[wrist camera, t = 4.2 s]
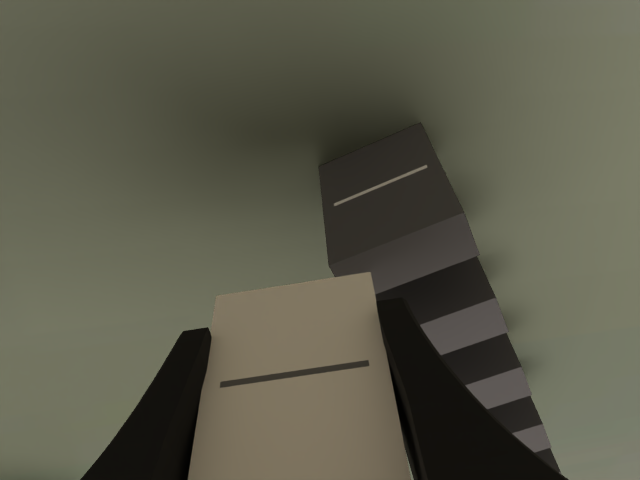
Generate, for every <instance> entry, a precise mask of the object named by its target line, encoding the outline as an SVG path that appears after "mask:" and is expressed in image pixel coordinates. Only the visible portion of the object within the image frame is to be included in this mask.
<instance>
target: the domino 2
mask: <svg viewBox="0 0 640 480" xmlns="http://www.w3.org/2000/svg"><path fill="white" fill-rule="evenodd" d="M319 176H320V185H321V195H322V205H323V215H324V225H325V234H326V244H327V254H328V264H329V267H330V269H331V271H332V272H333V274H334V276H335V277H340V276H347V275H353V274H359V273H366V272H371V276H372V281H373V287H374V292H375V294H378V293H380V292H383V291H386V290H388V289H391V288H394V287H396V286H399V285H402V284H404V283H407V282H410V281H412V280H415V279H418V278H420V277H423V276H425V275H428V274H431V273H433V272H436V271H439V270H441V269H444V268H447V267H449V266H452V265H455V264H457V263H460V262H463V261H465V260H468V259H471V258H473V257H476V256H479V255H480V254H479V251H478V249H477V246H476V243H475V241H474V238H473V235H472V233H471V230H470V227H469V224H468V222H467V219H466V216H465V214H464V211H463V209H462V207H461V205H460V203H459V201H458V199H457V197H456V195H455V193H454V191H453V188H452V186H451V184H450V182H449V180H448V178H447V176H446V174H445V172H444V170H443V168H442V166H441V164H440V162H439V159H438V157H437V155H436V153H435V151H434V149H433V147H432V145H431V143H430V141H429V139H428V137H427V135H426V132H425V130H424V128H423V126H422V124H421V122H420V123H418V124H416V125H413V126H411V127H409V128H406V129H404V130H402V131H400V132H397V133H395V134H393V135H390V136H388V137H386V138H384V139H381V140H379V141H377V142H374V143H372V144H370V145H367V146H365V147H363V148H361V149H358V150H356V151H354V152H351V153H349V154H347V155H344V156H342V157H340V158H338V159H335V160H333V161H331V162H328V163H326V164H324V165H321V166H319Z"/></svg>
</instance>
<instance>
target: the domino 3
mask: <svg viewBox="0 0 640 480" xmlns="http://www.w3.org/2000/svg"><path fill="white" fill-rule="evenodd" d="M375 297H376V301H381V300H388V299H394V298H400V297H402V298H404V299H405V300H407V302H408V304H409V306H410V308H411V310H412V312H413V314H414V316H415V318H416V319H417V321H418V323H419V324H420V326H421V328H422V329H423V331H424V332H425V334H426V335H427V337H428V338H429V340H430V341H431V343H432V344H433V346H434V347H435V348H436V350H437V351H438V352H439V354H440V355H443V354H446V353H449V352H452V351H455V350H458V349H461V348H464V347H466V346H469V345H472V344H475V343H478V342H481V341H484V340H487V339H490V338H492V337H495V336H498V335H501V334H504V333H507V332H509V331H508V329H507V326H506V323H505V321H504V318H503V315H502V313H501V310H500V307H499V304H498V302H497V299H496V297H495V294H494V292H493V290H492V288H491V286H490V284H489V282H488V279H487V277H486V275H485V273H484V271H483V269H482V266H481V264H480V262H479V260H478V258H477V256H476V257H473V258H471V259H468V260H465V261H463V262H460V263H457V264H455V265H452V266H449V267H447V268H444V269H441V270H439V271H436V272H433V273H431V274H428V275H425V276H423V277H420V278H418V279H415V280H412V281H410V282H407V283H404V284H402V285H399V286H396V287H394V288H391V289H388V290H386V291H383V292H380V293H378V294H375Z"/></svg>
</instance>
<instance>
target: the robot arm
mask: <svg viewBox="0 0 640 480" xmlns="http://www.w3.org/2000/svg"><path fill="white" fill-rule="evenodd" d="M376 305H377V312H378V317H379V322H380V328H381V333H382V338H383V343H384V346H385V349H386V354H387V359H388V364H389V369H390V374H391V379H392V384H393V390H394V395H395V400H396V405H397V410H398V415H399V420H400V426H401V431H402V436H403V441H404V446H405V450H406V453H407V457H408V460H409V464H410V467H411V471H412V474H413V478H414V480H568V479H567V478H565V477H564V476H563V475H561V474H560V473H559V472H558V471H556V470H555V469H554V468H552V467H551V466H550V465H549V464H547V463H546V462H545V461H544V460H543V459H541V458H540V457H539V456H538V455H537V454H535V453H534V452H533V451H532V450H531V449H530V448H528V447H527V446H526V445H525V444H524V443H522V442H521V441H520V440H519V439H518V438H517V437H515V436H514V435H513V434H512V433H511V432H510V431H509V430H508V429H507V428H506V427H505V426H504V425H503V424H502V423H500V422H499V421H498V420H497V419H496V418H495V417H494V416H493V415H492V414H491V413H490V412H489V411H488V410H487V409H486V408H485V407H484V406H483V405H482V404H481V402H480V401H479V400H478V399H477V398H476V397H475V396H474V395H473V394H472V393H471V392H470V390H469V389H468V388H467V387H466V386H465V385H464V384H463V382H462V381H461V380H460V379H459V378H458V377H457V375H456V374H455V373H454V372H453V370H452V369H451V368H450V367H449V365H448V364H447V363H446V362H445V360H444V359H443V358H442V356H441V355H440V354H439V352H438V351H437V350H436V348H435V347H434V346H433V344H432V343H431V341H430V340H429V338H428V337H427V335H426V334H425V332H424V331H423V329H422V328H421V326H420V324H419V323H418V321H417V319H416V318H415V316H414V314H413V312H412V310H411V308H410V306H409V304H408V302H407V300H405V299H404V298H402V297H400V298H394V299H388V300H381V301H376ZM211 340H212V336H211V334H210V331H209V328H208V327H207V328H201V329H194V330H188V331H183V332H182V334H181V335H180V337H179V338H178V340H177V342H176V343H175V345H174V347H173V348H172V350H171V352H170V353H169V355H168V357H167V358H166V360H165V362H164V363H163V365H162V367H161V368H160V370H159V372H158V373H157V375H156V377H155V378H154V380H153V381H152V383H151V385H150V386H149V388H148V389H147V391H146V392H145V394H144V395H143V397H142V399H141V400H140V402H139V403H138V405H137V406H136V408H135V409H134V411H133V412H132V413H131V415H130V416H129V418H128V419H127V420H126V422H125V423H124V425H123V426H122V427H121V429H120V430H119V432H118V433H117V435H116V436H115V437H114V439H113V440H112V441H111V443H110V444H109V445H108V446H107V448H106V449H105V450H104V452H103V453H102V454H101V455H100V457H99V458H98V459H97V460H96V462H95V463H94V464H93V465H92V466H91V468H90V469H89V470H88V471H87V472H86V474H85V475H84V476H83V477H82V478H81V479H80V480H188V474H189V468H190V461H191V455H192V449H193V442H194V436H195V429H196V423H197V416H198V410H199V403H200V397H201V391H202V387H203V383H204V379H205V375H206V372H207V366H208V360H209V353H210V346H211Z"/></svg>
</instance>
